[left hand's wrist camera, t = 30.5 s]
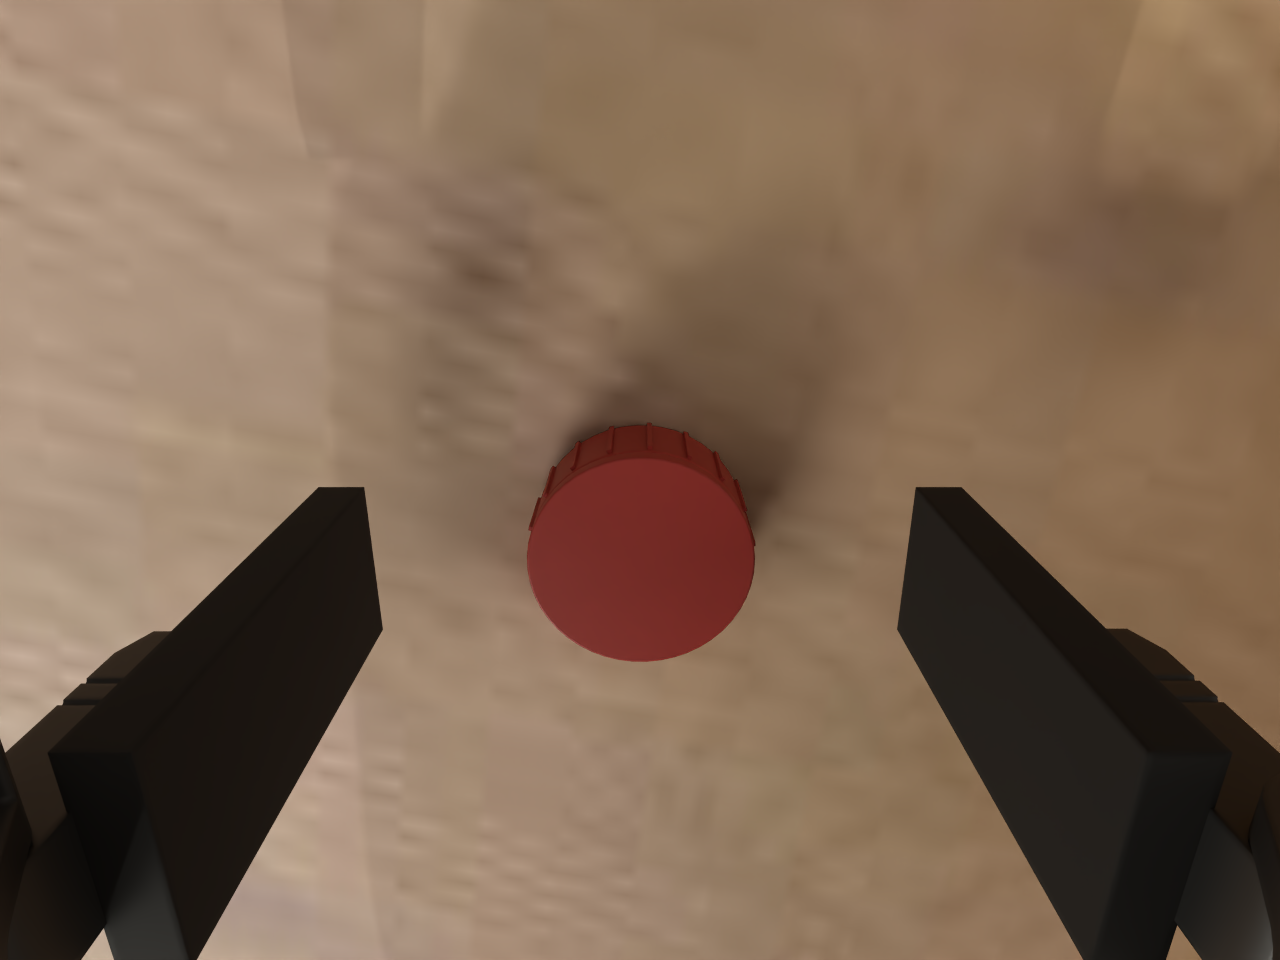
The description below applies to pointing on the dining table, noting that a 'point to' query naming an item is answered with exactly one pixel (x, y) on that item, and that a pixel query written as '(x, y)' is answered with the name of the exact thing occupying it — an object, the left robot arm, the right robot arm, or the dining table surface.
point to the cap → (640, 544)
